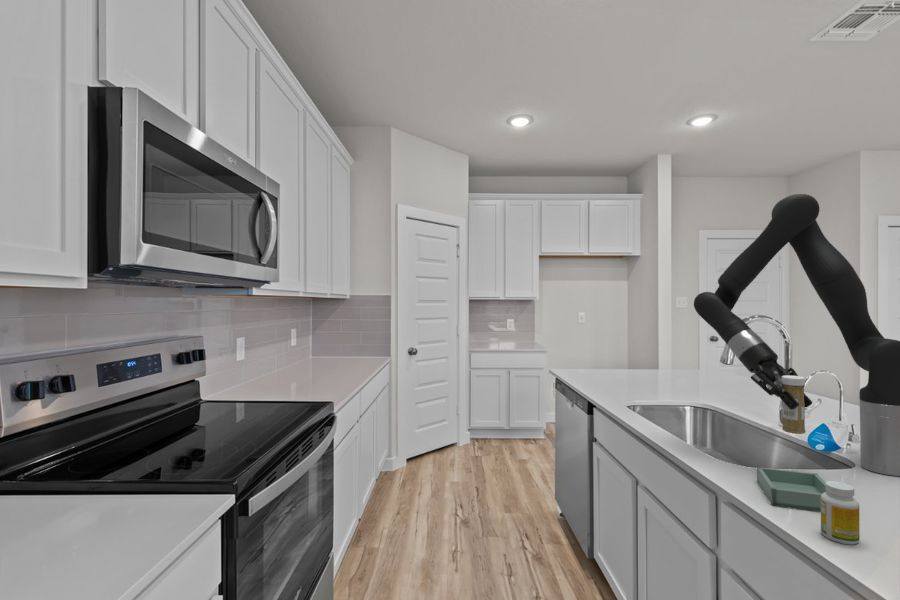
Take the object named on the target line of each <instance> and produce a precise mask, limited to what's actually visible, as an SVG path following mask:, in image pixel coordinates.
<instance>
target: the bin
mask: <svg viewBox="0 0 900 600" xmlns="http://www.w3.org/2000/svg"><path fill="white" fill-rule="evenodd" d="M756 481H757V484H758V485H759V486H760V488H761V490H762V492H763V491H764V492H763V493H764V495H765V496H766V498H767V500H768V501H769V503H770V504H771V506H774V507H782V508H787V507H790V508H789V509H794V508H796V510H804V511H811V512H817V513H821V495H822V494H823V493H825V492H827V491H826V489H825V483H826V482H827V481H825V480H824V479H823V478H822V477H821V476H820V475H819V474H818V473H815V472H806V471H805V472H804V471H798V470H797V471H796V470H789V469H777V468H769V467H761V466H757V467H756Z"/></svg>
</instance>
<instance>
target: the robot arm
mask: <svg viewBox="0 0 900 600" xmlns="http://www.w3.org/2000/svg"><path fill="white" fill-rule="evenodd" d="M819 214H820V205H819V202H818V200H817V199H816V197H814V196H812V195H810V194H806V193H796V194H792V195H788V196H786V197H785V198H782V199H781V200H779V201H778V202H776V203H775V205H774V206H773V208H772V210H771V219H770V221H769V222H768V224H767V225H766V226H765V228H764V230H762V232H761V233H760V234H759V236H757V237H756V239H754V241H753V242H752V243H751V244H750V245H749V246H748V247H746V249H744V250H743V251H742V252H741V253H740V254H739V255H738V256H737V257H736V258H735V259H734V260H733V261H732V262H731V264H729V265H728V267H727V268H726V269H725V270H724V272H723V273H721V275H720V276H719V277H718V279H717V283H718V287H717V289H716V290H715V292H711V291H703V292H701V293H699V294H697V295H696V296H695V297H694V300H693V307H694V310H695V312H696V313H697V314H698V315H699V316H700V317H701V319H703V321H705V322H706V323H707V324H708V325H709V326H710V327H711V328H712V329H713V330H715V332H717V334H718V335H719V337H720V338H721V340H723V341H724V343H726V345H727V347H729V349H730V351H731V352H732V354H734V356H735V357H736V358H737V359H738V360H739V362H741V363H742V365H743V366H744V367H745V368H746V370H748V372H749V373H751V374H752V375H751V376H750V379H751V381H753V382H754V383H755V384H756V385H757V386H759V387H760V388H761V389H762V390H763V391H764V392H766V393H767V394H768V395H769V396H771V397H772V396H776V397H777V398H779V399H780V400H781V402H782V401H783V402H784V403H785V404H786V405H787V406H788V407H789V409H791V410H792V409H795V408H796V407H798V406H799V403H798V402H797V401H796V400H795V399H794V398H793V397H792V396H791V394H790V393H789V392H786V391H787V390H786V389H785V387H784V386H783V384H782V383H783V382H782V379H781V377H782V376H785V375H792V376H799V375H798V373H797V372H796V371H795V369H794V368H792V367H789V368H788V369H786V368H784V367H783V366H782V365H780V363H778V359H779V356H778V354H777V353H776V352H775V351H774V350H773V349H772V348H771V347H770V346H769V344H768V343H767V342H765V340H764V339H762V337H761V336H760V335H758V334H757V333H756V332H755V331H754V330H753V329H752V328H751V327H750V326H748V325H749V324H747V323H746V322H745V321H744V320H743V319H742V318H741V317H739V316H738V315H736V314H735V313H734V312H733V309H734V308H735V306H736V304H737V302H738V301H739V299H740V296H741V295H742V293H743V292H744V291H745V290H746V289H747V288H748V287H749V286H750V285H751V283H753V281H754V280H755V279H756V278H757V277H758V275H760V273H761V272H762V271H763V270H764V269H765V268H766V266H767V265H768V264H769V263H770V262H771V260H773V258H774V257H775V256H776V255H777V254H778V253H779V252H780V251H781V250H782V249H783V248H785V246H786V245H787V244H788V243H789V245H790V246H791V248H792V249H793V250H794V252H795V254H796V256H797V259H798V260H799V262H800V265H801V267H802V268H803V271H804V273H805V275H806V276H807V278H808V280H809V282H810V284H811V286H812V287H813V288H814V290H815V292H816V294H817V296H818V297H819V299H820V300H821V302H822V303H823V305H824V306H825V308H826V310H827V311H828V313H829V315H830V316H831V318H832V319H833V321H834V323H835V324H836V325H837V327H838V329H839V331H840V333H841V335H842V337H843V339H844V342H845V344H846V346H847V349H848V351H849V353H850V356H851V358H852V359H853V361H854V363H855V364H856V365H857V366H858V367H859V368H860V369H862V370H864V371H866V372H868V378H867V384H866V386H863V387H862V388H860V389H859V393H858V395H859V441H860V447H859V451H860V454H859V455H860V467H862V468H863V469H865V470H868V471H871V472H874V473H876V474H877V473H878V474H883V475H888V476H894V477H900V340H897V339H891V338H885V337H884V336H883V335H882V333H881V332H880V331H879V329H878V328H877V326H876V324H875V323H874V322H873V320H872V318H871V316H870V312H869V308H868V298H867V292H866V288H865V285H864V283H863V281H862V280H861V278H860V277H859V275H858V273H857V272H856V270H855V268H854V267H853V266H852V264H851V263H850V262H849V260H847V258H846V257H845V256H844V255H843V254H842V253H841V252H840V251H839V249H837V248H836V247H835V246H834V245H833V244H832V243H831V242H830V240H828V238H826V236H825V234H824V233H823V232H822V229H821V228H820V225H819V224H818V222H817V218H818V216H819ZM805 387H806V384H805V385H804V388H805ZM804 403H805V408H808V407H810V406H812V405H813V400H811V399H810V397H808V396H807V395H806V393H804Z"/></svg>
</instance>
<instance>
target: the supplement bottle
mask: <svg viewBox="0 0 900 600" xmlns="http://www.w3.org/2000/svg"><path fill="white" fill-rule="evenodd" d="M825 482H826V483H825V489H826V491H827V492H825V493H823V494H822V495H821V512H820V533H821V535H823V536H824V538H826V539H828V540H830V541H832V542H836V543H840V544H844V545H852V546H853V545H857V544H859V542H860V539H861V538H860V535H861V534H860V502H859V501H858V500H857V499H856V498H855V497H854V496H855V495H856V494H855V487H854V486H853V485H850V484H848V483H846V482H845V483H844V482H841V481H835V480H831V481H830V480H829V481H825Z"/></svg>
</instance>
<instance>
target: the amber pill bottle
mask: <svg viewBox="0 0 900 600" xmlns="http://www.w3.org/2000/svg"><path fill="white" fill-rule="evenodd" d="M781 379H782V382H783V383H782V384H783V386H784V387H785V389H786V390H787V391H786V392H789V393H790V394H791V396H792V397H793V398H794V399H795V400H796V401H797V402H798V403H799V406H798V407H796V408H795V409H792V410H791V409H789V407H788V406H787V405H786V404H785V403H784V402H783V401H782V400H781V406H782V407H781V409H782V412H781V413H782V414H781V415H782V431H784V432H786V433H789V434H795V435H803V434H805V433H806V423H805V422H806V421H805V418H806V412H805V411H806V407H805V403H804V394H805V387H804V385H805V386H806V378H805V377H803V376H799V375H798V376H792V375H785V376H782V377H781Z"/></svg>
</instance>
